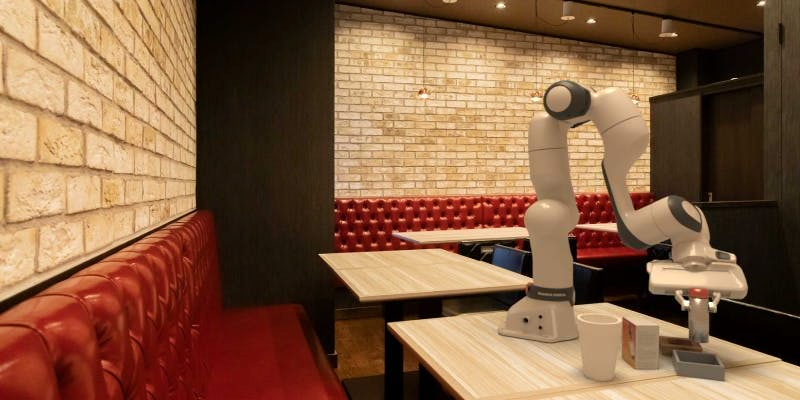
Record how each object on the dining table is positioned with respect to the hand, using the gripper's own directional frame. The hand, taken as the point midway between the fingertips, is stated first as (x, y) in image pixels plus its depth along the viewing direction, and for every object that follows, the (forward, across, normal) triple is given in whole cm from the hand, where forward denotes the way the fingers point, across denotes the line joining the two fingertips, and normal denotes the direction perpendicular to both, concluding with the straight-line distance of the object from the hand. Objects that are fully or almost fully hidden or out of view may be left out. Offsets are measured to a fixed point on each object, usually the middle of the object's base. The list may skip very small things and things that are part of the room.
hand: (699, 310), depth 119 cm
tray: (+10, 0, +11) cm, 14 cm away
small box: (+9, -12, +11) cm, 19 cm away
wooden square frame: (0, -2, +20) cm, 21 cm away
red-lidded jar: (+5, 0, +6) cm, 7 cm away
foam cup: (+18, -21, +3) cm, 28 cm away
